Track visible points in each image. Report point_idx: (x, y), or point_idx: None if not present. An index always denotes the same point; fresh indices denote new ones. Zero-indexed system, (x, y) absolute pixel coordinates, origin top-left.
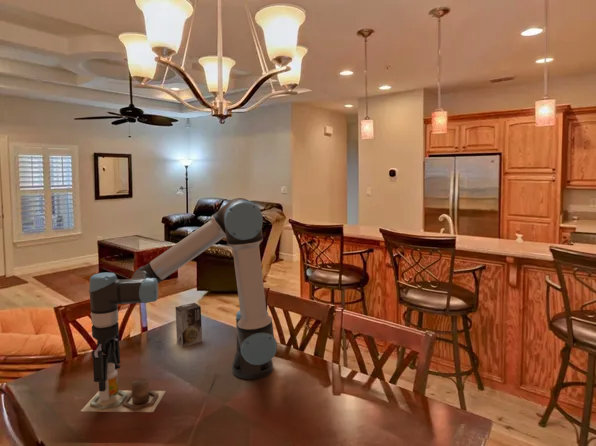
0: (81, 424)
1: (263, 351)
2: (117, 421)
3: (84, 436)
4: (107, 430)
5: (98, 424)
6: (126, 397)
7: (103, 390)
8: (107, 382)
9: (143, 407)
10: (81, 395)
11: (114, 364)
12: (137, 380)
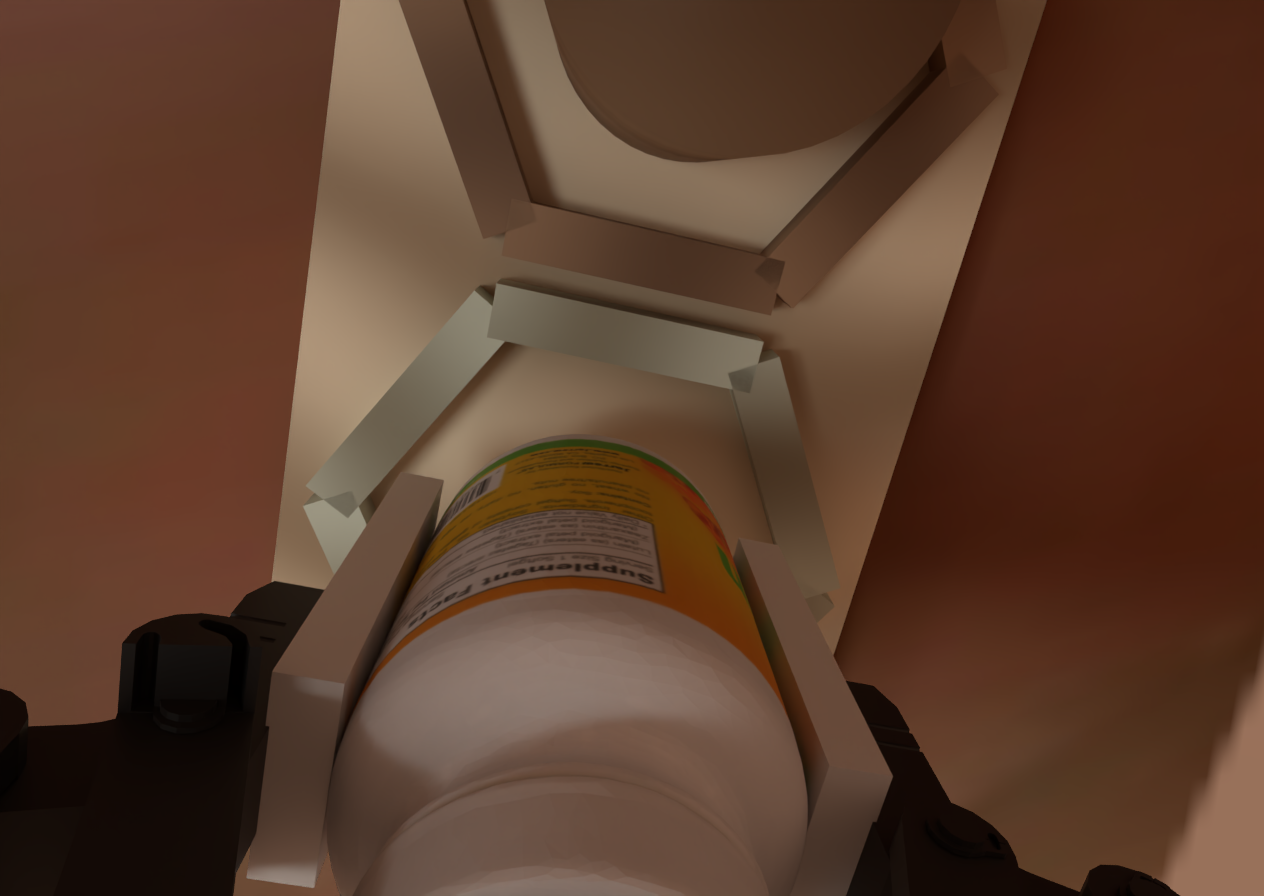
0: (954, 717)
1: None
2: (1032, 312)
3: (1214, 624)
4: (1195, 397)
5: (1020, 534)
6: (615, 278)
7: (891, 709)
8: (862, 731)
9: None
10: (279, 888)
11: (502, 889)
12: (604, 18)
